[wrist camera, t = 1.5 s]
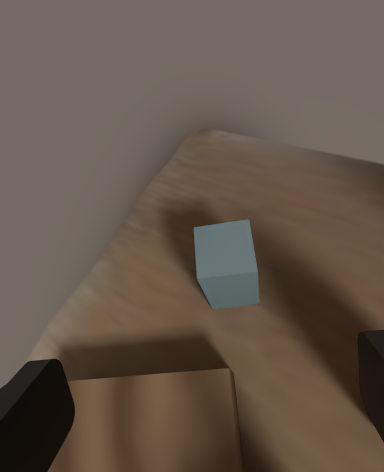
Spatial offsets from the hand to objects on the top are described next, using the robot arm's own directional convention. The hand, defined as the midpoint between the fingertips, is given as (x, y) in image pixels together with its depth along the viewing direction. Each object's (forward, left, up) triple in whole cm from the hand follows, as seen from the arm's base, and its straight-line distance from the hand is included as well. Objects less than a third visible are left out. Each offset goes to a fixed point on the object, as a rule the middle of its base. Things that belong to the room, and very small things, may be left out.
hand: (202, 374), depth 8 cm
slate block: (0, -11, -24) cm, 27 cm away
